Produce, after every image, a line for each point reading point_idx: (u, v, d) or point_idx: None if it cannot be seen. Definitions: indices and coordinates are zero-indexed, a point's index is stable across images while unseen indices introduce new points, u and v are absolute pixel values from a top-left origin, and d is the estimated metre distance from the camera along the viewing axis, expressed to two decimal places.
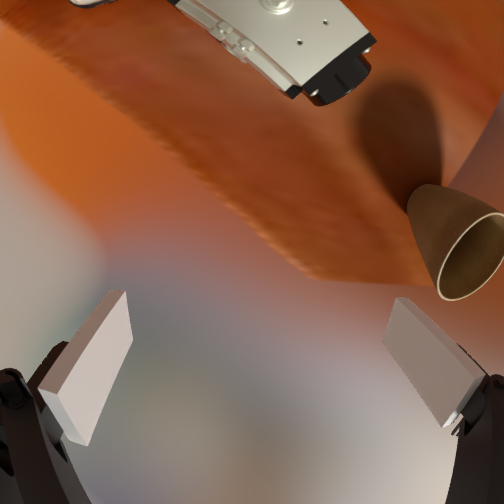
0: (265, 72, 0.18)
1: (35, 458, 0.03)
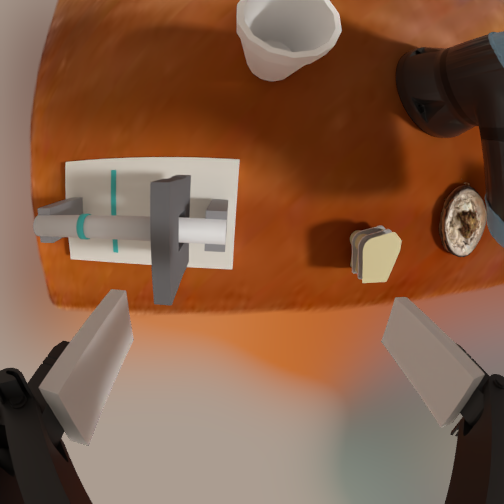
0: None
1: (36, 458, 0.03)
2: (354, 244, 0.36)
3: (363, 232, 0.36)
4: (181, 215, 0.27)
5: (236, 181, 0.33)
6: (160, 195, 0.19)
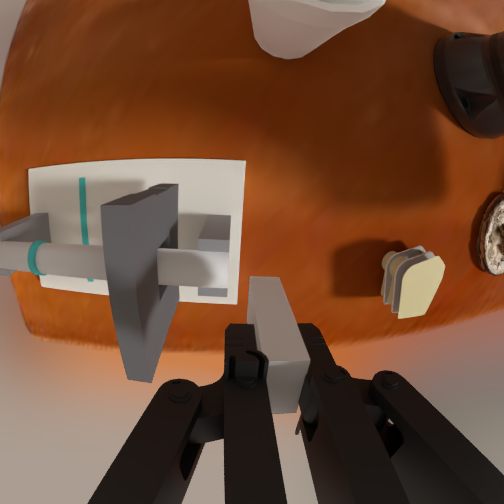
0: None
1: (257, 439, 0.05)
2: (389, 270, 0.27)
3: (400, 255, 0.27)
4: (164, 243, 0.19)
5: (241, 190, 0.24)
6: (117, 227, 0.11)
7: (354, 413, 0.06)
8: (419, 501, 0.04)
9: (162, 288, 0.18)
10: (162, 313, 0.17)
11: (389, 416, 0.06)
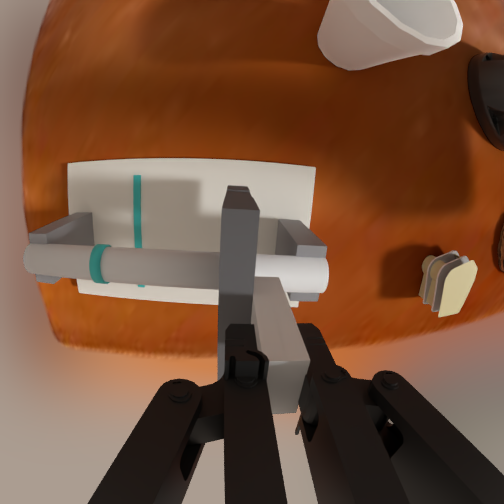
0: None
1: (257, 439, 0.05)
2: (429, 272, 0.28)
3: (439, 259, 0.27)
4: None
5: (311, 196, 0.25)
6: (240, 233, 0.11)
7: (354, 413, 0.06)
8: (419, 501, 0.04)
9: None
10: None
11: (389, 416, 0.06)
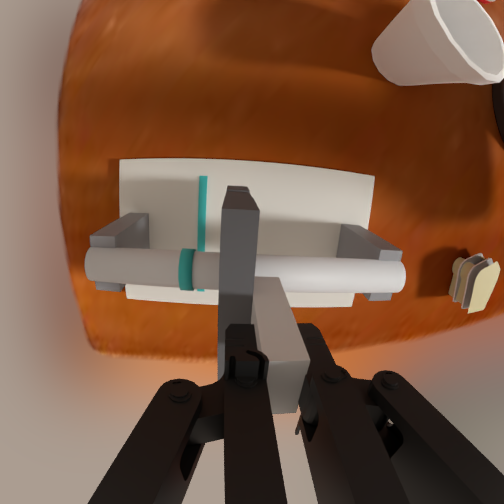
0: None
1: (257, 439, 0.05)
2: (460, 273, 0.28)
3: (468, 260, 0.28)
4: None
5: (370, 203, 0.25)
6: (240, 233, 0.11)
7: (354, 413, 0.06)
8: (419, 501, 0.04)
9: None
10: None
11: (389, 416, 0.06)
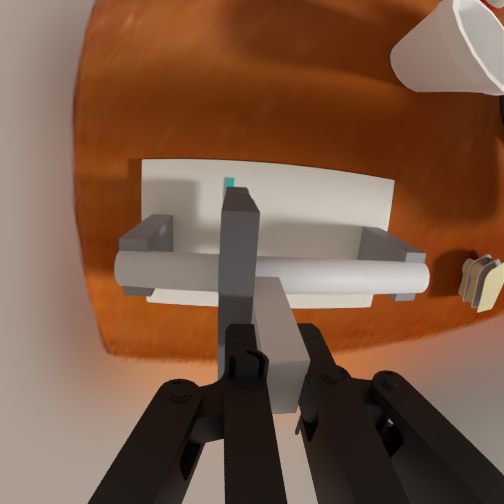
0: None
1: (257, 439, 0.05)
2: (470, 273, 0.28)
3: (477, 261, 0.28)
4: None
5: (389, 206, 0.25)
6: (240, 236, 0.11)
7: (354, 413, 0.06)
8: (419, 501, 0.04)
9: None
10: None
11: (389, 416, 0.06)
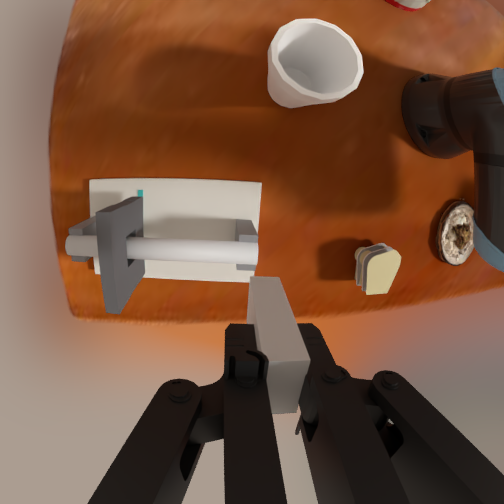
0: None
1: (257, 439, 0.05)
2: (359, 260, 0.40)
3: (367, 249, 0.40)
4: (132, 234, 0.30)
5: (258, 203, 0.36)
6: (103, 223, 0.22)
7: (354, 413, 0.06)
8: (419, 501, 0.04)
9: (130, 261, 0.29)
10: (129, 276, 0.28)
11: (389, 416, 0.06)
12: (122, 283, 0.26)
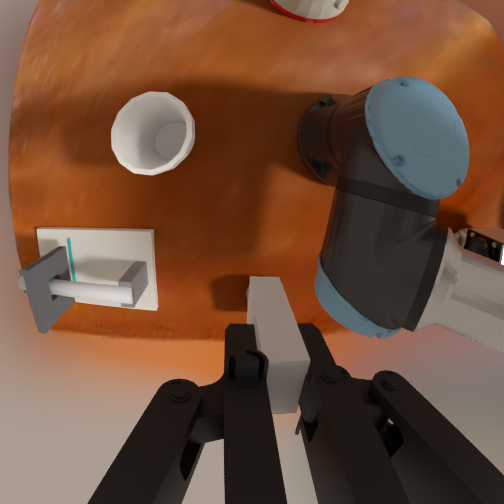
0: None
1: (257, 439, 0.05)
2: (248, 295, 0.45)
3: None
4: (58, 276, 0.36)
5: (150, 248, 0.42)
6: (27, 276, 0.28)
7: (354, 413, 0.06)
8: (419, 501, 0.04)
9: (57, 296, 0.35)
10: (55, 306, 0.34)
11: (389, 416, 0.06)
12: (47, 313, 0.32)
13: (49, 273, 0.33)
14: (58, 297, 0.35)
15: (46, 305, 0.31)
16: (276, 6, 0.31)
